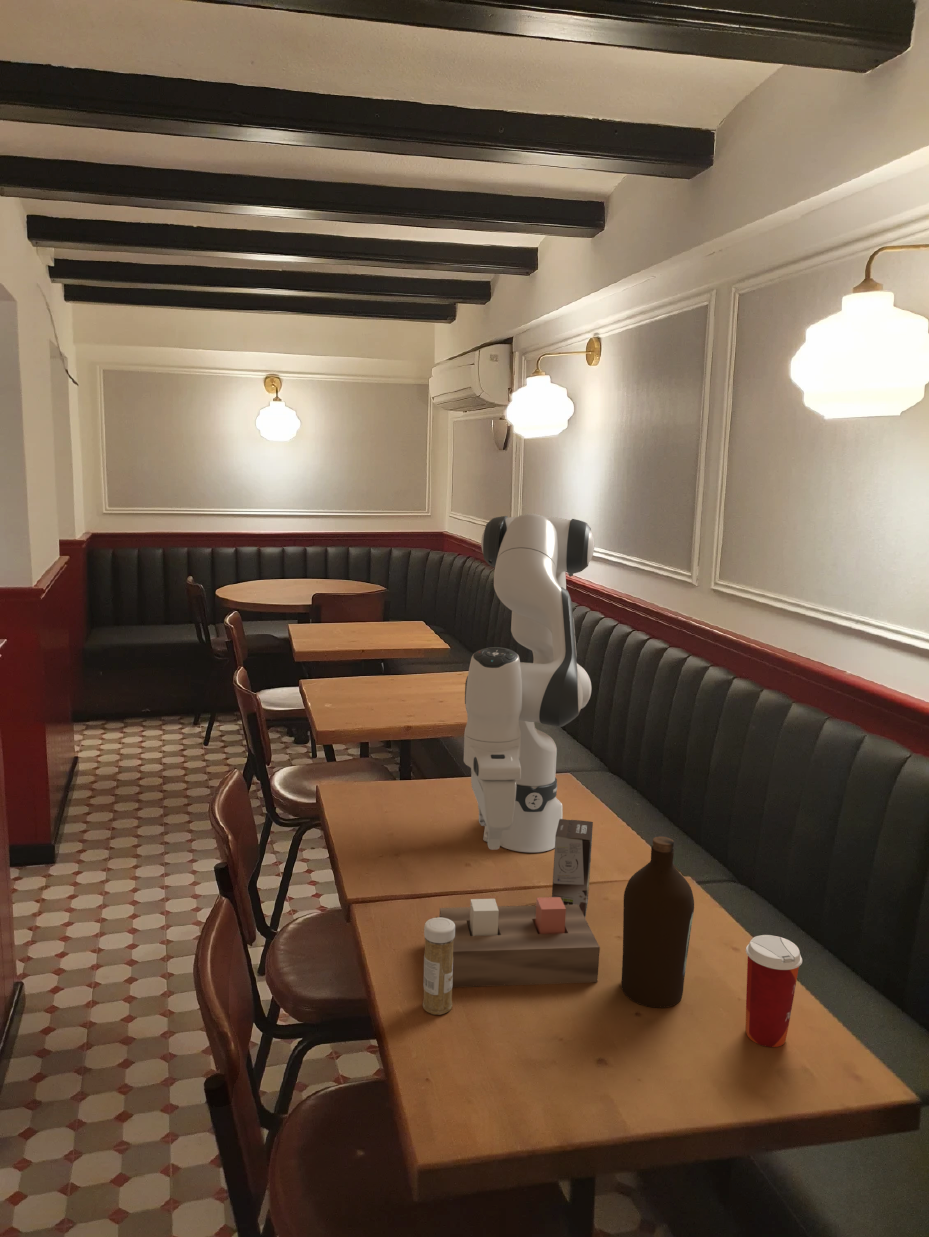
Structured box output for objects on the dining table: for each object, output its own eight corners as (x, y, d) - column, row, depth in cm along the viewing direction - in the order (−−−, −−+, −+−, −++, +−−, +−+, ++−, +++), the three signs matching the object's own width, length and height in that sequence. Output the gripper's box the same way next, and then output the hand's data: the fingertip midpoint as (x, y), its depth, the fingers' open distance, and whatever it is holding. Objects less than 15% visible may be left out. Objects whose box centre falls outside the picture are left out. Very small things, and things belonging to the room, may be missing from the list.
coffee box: (585, 925, 162) (590, 840, 159) (549, 920, 163) (554, 836, 160) (589, 902, 171) (594, 820, 168) (554, 897, 172) (559, 816, 169)
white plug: (469, 931, 150) (470, 899, 149) (493, 931, 150) (494, 898, 149) (472, 944, 146) (473, 911, 145) (497, 943, 147) (498, 910, 146)
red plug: (534, 930, 151) (536, 897, 150) (558, 929, 152) (560, 896, 151) (539, 942, 147) (541, 909, 146) (563, 941, 148) (565, 908, 147)
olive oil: (627, 1011, 137) (638, 855, 133) (610, 972, 147) (620, 826, 143) (696, 1010, 138) (709, 855, 133) (674, 971, 148) (686, 826, 144)
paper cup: (804, 1047, 130) (814, 957, 127) (758, 1055, 128) (767, 963, 125) (771, 1015, 137) (780, 929, 135) (727, 1022, 135) (735, 935, 133)
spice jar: (457, 1012, 135) (460, 928, 133) (428, 1018, 133) (431, 933, 131) (444, 995, 139) (447, 913, 137) (417, 1001, 137) (419, 919, 135)
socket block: (438, 940, 155) (439, 907, 154) (576, 936, 158) (578, 904, 157) (446, 987, 141) (448, 951, 140) (597, 981, 144) (599, 946, 143)
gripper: (463, 733, 153) (461, 811, 155) (480, 773, 133) (477, 862, 135) (501, 733, 154) (498, 811, 156) (523, 772, 134) (519, 861, 136)
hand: (488, 835), depth 145 cm, fingers open, 8 cm apart
